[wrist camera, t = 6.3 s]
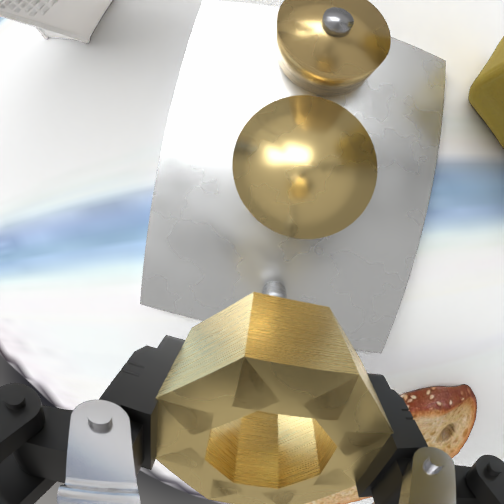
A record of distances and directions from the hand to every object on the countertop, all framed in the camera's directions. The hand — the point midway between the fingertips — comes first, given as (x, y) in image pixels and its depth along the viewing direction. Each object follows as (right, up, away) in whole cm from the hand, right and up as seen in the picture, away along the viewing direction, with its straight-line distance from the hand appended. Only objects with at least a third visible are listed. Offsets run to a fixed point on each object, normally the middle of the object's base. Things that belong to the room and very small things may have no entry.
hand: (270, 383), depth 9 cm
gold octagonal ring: (0, 0, 0) cm, 0 cm away
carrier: (+2, +9, +8) cm, 12 cm away
